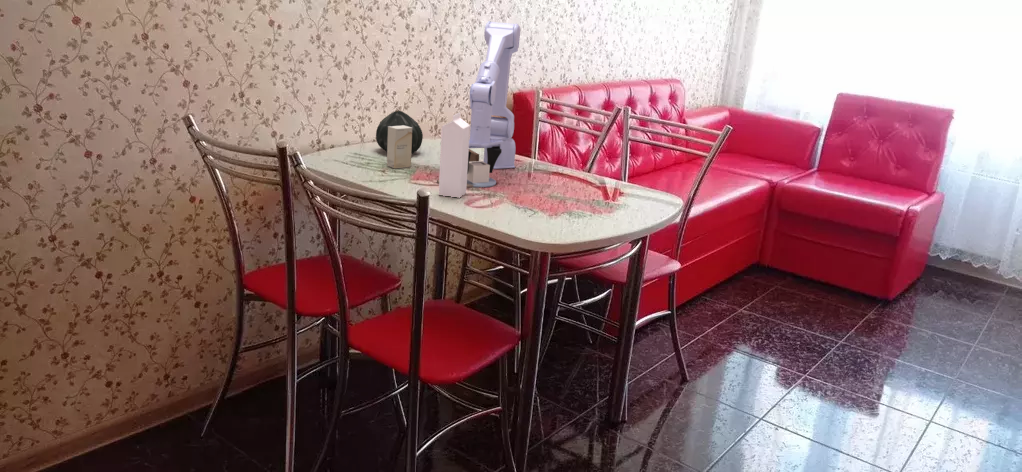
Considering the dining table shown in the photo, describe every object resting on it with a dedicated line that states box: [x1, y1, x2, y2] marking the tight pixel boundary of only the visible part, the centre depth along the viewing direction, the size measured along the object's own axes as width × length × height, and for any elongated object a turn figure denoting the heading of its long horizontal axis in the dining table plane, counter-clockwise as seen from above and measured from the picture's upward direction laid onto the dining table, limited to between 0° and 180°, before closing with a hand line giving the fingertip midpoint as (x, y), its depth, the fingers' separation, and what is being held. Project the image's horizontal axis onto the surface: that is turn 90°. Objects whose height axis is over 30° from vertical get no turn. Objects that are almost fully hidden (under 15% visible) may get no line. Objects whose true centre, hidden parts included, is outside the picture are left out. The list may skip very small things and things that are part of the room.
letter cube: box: [467, 160, 490, 183], centre depth 214 cm, size 5×5×5 cm
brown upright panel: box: [469, 148, 480, 162], centre depth 224 cm, size 4×13×7 cm, turn 27°
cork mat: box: [436, 179, 474, 189], centre depth 211 cm, size 8×8×1 cm
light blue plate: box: [467, 177, 497, 189], centre depth 215 cm, size 11×11×1 cm
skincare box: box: [386, 125, 412, 169], centre depth 224 cm, size 6×4×12 cm
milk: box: [438, 111, 471, 199], centre depth 198 cm, size 6×6×22 cm
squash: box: [375, 110, 424, 155], centre depth 241 cm, size 14×15×15 cm
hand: (477, 172), depth 214 cm, fingers open, 7 cm apart
